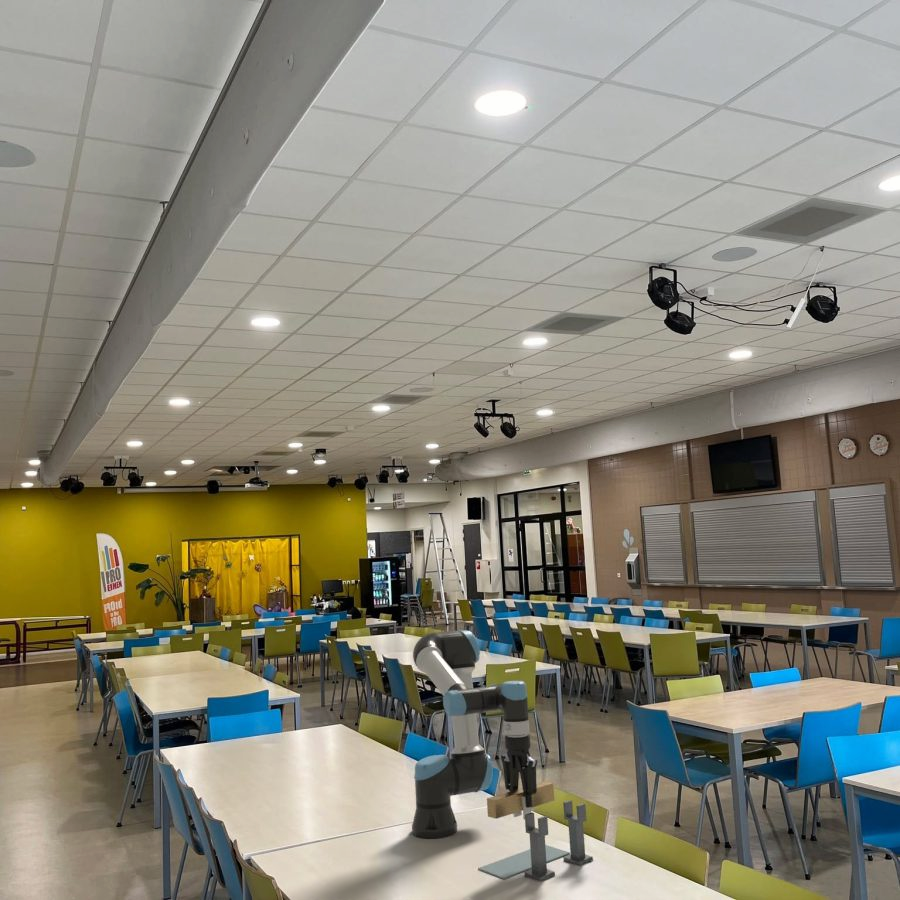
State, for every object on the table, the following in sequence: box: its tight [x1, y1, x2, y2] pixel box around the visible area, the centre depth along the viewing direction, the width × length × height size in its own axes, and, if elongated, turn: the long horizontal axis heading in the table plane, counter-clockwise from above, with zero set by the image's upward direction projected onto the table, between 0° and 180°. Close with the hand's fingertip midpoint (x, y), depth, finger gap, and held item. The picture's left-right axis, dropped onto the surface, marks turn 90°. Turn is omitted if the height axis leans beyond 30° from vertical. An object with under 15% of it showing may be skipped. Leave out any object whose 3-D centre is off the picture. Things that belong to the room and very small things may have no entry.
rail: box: [486, 781, 555, 820], centre depth 242 cm, size 4×24×5 cm, turn 129°
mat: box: [477, 844, 571, 880], centre depth 240 cm, size 11×27×1 cm, turn 129°
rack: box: [523, 799, 594, 883], centre depth 234 cm, size 6×22×16 cm, turn 129°
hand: (522, 817), depth 241 cm, fingers closed on rail, 3 cm apart
